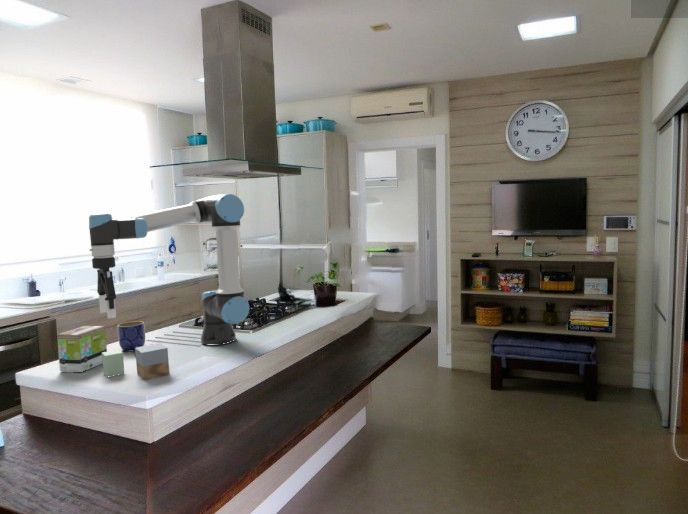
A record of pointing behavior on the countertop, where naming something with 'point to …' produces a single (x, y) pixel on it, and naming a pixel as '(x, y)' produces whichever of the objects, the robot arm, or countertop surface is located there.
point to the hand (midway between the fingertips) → (108, 315)
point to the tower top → (151, 354)
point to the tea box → (81, 348)
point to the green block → (113, 362)
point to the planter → (131, 335)
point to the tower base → (153, 370)
